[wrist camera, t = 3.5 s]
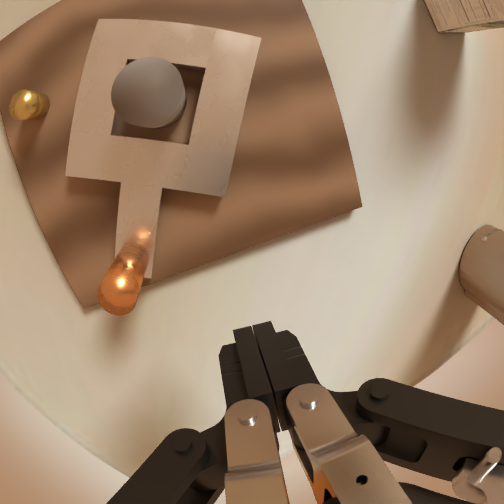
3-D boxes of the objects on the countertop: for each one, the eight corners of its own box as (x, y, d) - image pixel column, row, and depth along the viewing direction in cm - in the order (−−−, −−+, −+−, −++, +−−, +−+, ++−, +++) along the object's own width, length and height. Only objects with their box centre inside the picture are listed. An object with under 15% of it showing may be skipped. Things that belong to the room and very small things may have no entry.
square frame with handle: (102, 23, 16) (70, -13, 9) (258, 42, 19) (284, 7, 12) (67, 258, 22) (31, 302, 15) (208, 279, 25) (214, 331, 18)
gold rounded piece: (52, 111, 18) (35, 109, 15) (31, 124, 18) (12, 125, 15) (46, 88, 17) (28, 83, 14) (25, 101, 17) (6, 99, 14)
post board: (355, 203, 26) (402, 227, 20) (87, 301, 25) (62, 349, 19) (268, -56, 16) (291, -99, 9) (-4, 51, 15) (-49, 38, 8)
